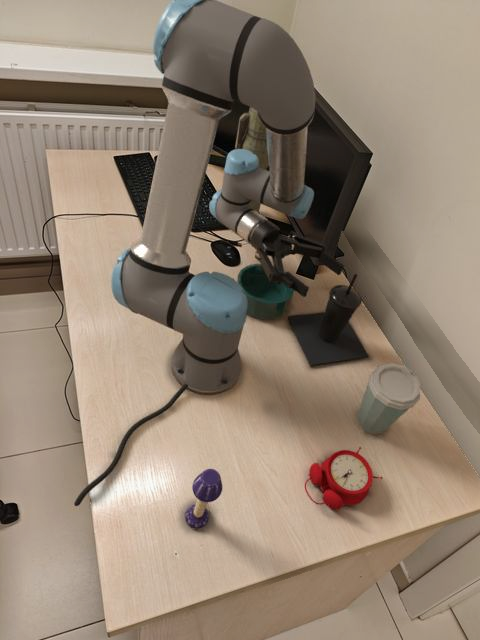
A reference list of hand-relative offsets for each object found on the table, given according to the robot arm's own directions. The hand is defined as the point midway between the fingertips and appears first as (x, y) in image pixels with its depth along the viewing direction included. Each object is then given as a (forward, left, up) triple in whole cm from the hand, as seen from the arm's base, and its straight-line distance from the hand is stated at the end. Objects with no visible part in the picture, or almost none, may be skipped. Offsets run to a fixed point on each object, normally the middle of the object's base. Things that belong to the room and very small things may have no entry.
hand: (324, 281), depth 107 cm
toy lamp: (-54, +16, -15) cm, 59 cm away
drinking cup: (-3, -5, -14) cm, 15 cm away
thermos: (+41, +24, -15) cm, 49 cm away
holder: (-3, -5, -14) cm, 16 cm away
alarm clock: (-42, -9, -15) cm, 46 cm away
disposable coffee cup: (-25, -16, -15) cm, 33 cm away
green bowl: (+5, +13, -14) cm, 20 cm away
